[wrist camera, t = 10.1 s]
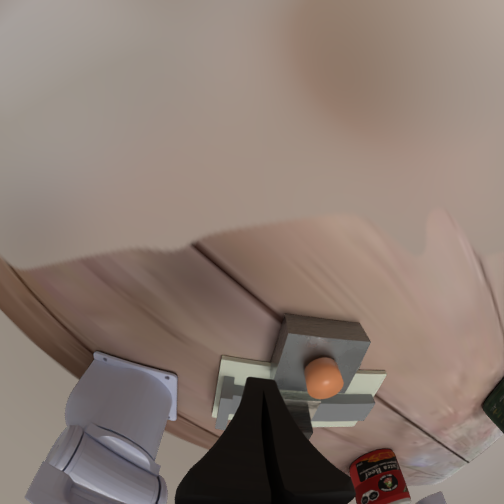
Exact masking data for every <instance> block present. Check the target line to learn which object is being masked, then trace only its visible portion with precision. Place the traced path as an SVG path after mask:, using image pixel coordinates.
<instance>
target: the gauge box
mask: <svg viewBox="0 0 504 504" xmlns="http://www.w3.org/2000/svg"><path fill="white" fill-rule="evenodd" d="M370 343H371V341H370V340H369V338H368V336H367V335H366V333H365V331H364V329H363V328H362V326H361V324H360V323H355V322H346V321H338V320H330V319H322V318H314V317H307V316H300V315H293V314H287V313H285V315H284V318H283V322H282V325H281V329H280V332H279V336H278V339H277V343H276V346H275V349H274V353H273V356H272V359H271V368H270V379H273V380H275V381H276V383H277V386H278V388H279V389H280V390H291V391H303V392H308V391H307V386H306V381H305V376H304V370H305V368H306V366H307V365H308V364H309V363H310V362H312V361H313V360H315V359H318V358H331V359H333V360H335V361H336V363H337V365H338V368H339V370H340V373H341V376H342V379H343V382H344V384H343V387H342V389H341V390H340V392H339V393H345V392H346V390H347V389H348V387H349V385H350V383H351V381H352V379H353V377H354V375H355V374H356V372H357V371H358V370H359V368H360V365H361V362H362V360H363V357H364V355H365V353H366V351H367V349H368V347H369V345H370Z"/></svg>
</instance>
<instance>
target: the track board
mask: <svg viewBox="0 0 504 504" xmlns="http://www.w3.org/2000/svg"><path fill="white" fill-rule="evenodd" d="M270 368H271V363H269V362H262V361H255V360H248V359H242V358H235V357H230V356H224V355H222V360H221V365H220V371H219V377H218V383H217V389H216V395H215V401H214V407H213V413H212V417H215V418H217V420H216V427H215V429H221V430H225V429H226V425H227V421H228V420H232V418H233V416H234V414H235V413H236V411H237V409H238V407H239V404H240V402H241V398H242V394H243V390H244V386H245V383H246V379H247V377H257V378H264V379H270ZM386 375H387V373H386V372H385V371H374V370H358V371H357V372H356V374H355V375H354V377H353V379H352V381H351V383H350V385H349V387H348V389H347V390H346V392H345V393H337V394H336V395H334V396H332V397H330V398H327V399H321V403H320V405H319V407H318V409H317V411H316V412H315V414H314V416H313V418H312V420H311V424H312V427H349V426H354V425H355V424H356V423H357V421H364V420H365V418H366V417H367V415H368V414H369V412H370V411H371V409H372V408H373V406H374V405H375V401H374V399H373V397H374V395H375V394H376V392H377V390H378V389H379V387H380V385H381V384H382V382H383V380H384V378H385V377H386Z"/></svg>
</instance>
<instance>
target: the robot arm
mask: <svg viewBox="0 0 504 504" xmlns="http://www.w3.org/2000/svg"><path fill="white" fill-rule="evenodd" d="M167 376H168V377H167ZM177 383H178V377H177V375H175V374H173V373H169V372H165V371H161V370H157V369H154V368H150V367H146V366H143V365H139V364H136V363H132V362H129V361H126V360H122V359H119V358H116V357H113V356H110V355H107V354H104V353H101V352H98V351H95V353H94V360H93V362H92V363H91V365H90V366H89V367H88V369H87V370H86V372H85V373H84V374H83V376H82V377H81V379H80V380H79V382H78V383H77V384H76V386H75V387H74V389H73V390H72V392H71V394H70V396H69V398H68V401H67V404H66V408H65V420H66V424H67V427H66V428H65V430H64V431H63V432H62V433H61V434H60V436H59V437H58V439H57V440H56V442H55V443H54V445H53V446H52V448H51V450H50V452H49V453H48V455H47V457H46V460H45V461H43V462H42V464H41V466H40V468H39V470H38V472H37V474H36V476H35V477H34V479H33V481H32V483H31V485H30V487H29V489H28V491H27V493H26V495H25V499H26V500H28V501H29V502H30V503H31V504H166V503H167V497H168V490H167V486H166V482H165V480H164V478H163V477H162V476H160V475H158V474H159V470H160V465H158V464H156V463H155V458H156V455H157V452H158V448H159V445H160V442H161V439H162V435H163V432H164V429H165V426H166V422H167V419H168V420H172V421H175V420H176V418H177ZM355 496H356V492H355V488H354V485H353V482H352V480H351V477H349V476H348V475H346V474H345V473H344V472H342V471H341V470H339V469H338V468H336V467H335V466H334V465H333V464H332V463H330V462H329V461H328V460H327V459H326V458H325V457H324V456H323V455H322V454H321V453H320V452H319V451H318V450H317V449H316V448H315V447H314V446H313V445H312V444H311V442H310V441H309V440H308V439H307V437H306V436H305V435H304V434H303V432H302V431H301V429H300V428H299V426H298V425H297V423H296V422H295V420H294V418H293V417H292V415H291V413H290V411H289V410H288V408H287V406H286V404H285V402H284V400H283V398H282V395H281V393H280V391H279V388H278V386H277V383H276V381H275V380H273V379H264V378H257V377H247V379H246V383H245V386H244V390H243V394H242V398H241V402H240V404H239V407H238V409H237V411H236V413H235V414H234V416H233V418H232V420H231V422H230V423H229V425H228V426H227V428H226V429H225V431H224V432H223V434H222V435H221V437H220V438H219V439H218V440H217V442H216V443H215V444H214V445H213V447H212V448H211V449H210V450H209V451H208V452H207V453H206V454H205V456H204V457H203V458H202V459H201V460H200V461H198V462H197V463H196V464H195V465H194V466H193V467H192V468H191V469H190V470H189V471H188V473H187V474H186V475H185V477H184V478H183V480H182V481H181V482H180V484H179V486H178V488H177V490H176V495H175V504H348V503H349V502H350V501H351V500H353V498H354V497H355ZM416 504H446V501H445V499H444V496H443V494H442V492H441V491H440V492H437V493H435V494H432V495H430V496H427V497H425V498H423V499H421V500H420V501H418V502H417V503H416Z"/></svg>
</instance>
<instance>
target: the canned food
mask: <svg viewBox="0 0 504 504" xmlns="http://www.w3.org/2000/svg"><path fill="white" fill-rule="evenodd" d="M350 476H351V480H352V482H353V485H354V488H355V492H356V496H355V498H356V503H357V504H410V503H411V498H410V495H409V491H408V488H407V486H406V483H405V480H404V477H403V475H402V472H401V469H400V467H399V464H398V461H397V459H396V456H395V454H394V453H393V452H392V451H391V450H390V449H380V450H376V451H373V452H370V453H368V454H365V455H363V456H362V457H360V458H358V459H357V460H355V461H354V462H353V463H352V465H351V466H350Z"/></svg>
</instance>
